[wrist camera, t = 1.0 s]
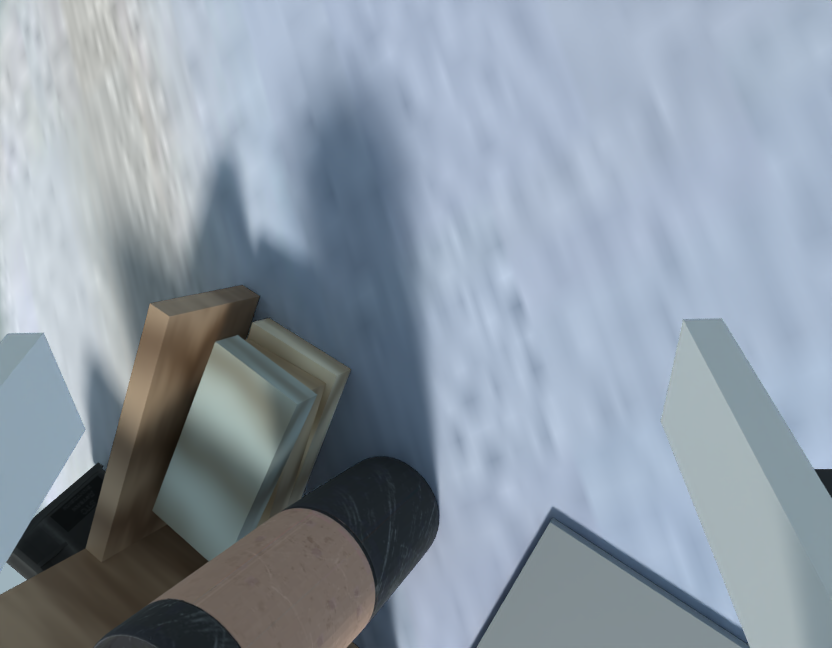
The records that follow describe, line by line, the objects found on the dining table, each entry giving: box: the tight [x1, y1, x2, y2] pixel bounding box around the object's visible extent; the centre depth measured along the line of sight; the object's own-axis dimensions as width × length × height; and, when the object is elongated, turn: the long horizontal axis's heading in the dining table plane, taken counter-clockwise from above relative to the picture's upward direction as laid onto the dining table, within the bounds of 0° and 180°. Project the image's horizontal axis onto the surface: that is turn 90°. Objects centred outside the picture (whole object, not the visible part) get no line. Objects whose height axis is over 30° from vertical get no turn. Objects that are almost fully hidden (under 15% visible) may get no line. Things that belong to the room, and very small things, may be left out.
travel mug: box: [93, 457, 439, 648], centre depth 36 cm, size 8×8×20 cm
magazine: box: [7, 463, 106, 580], centre depth 49 cm, size 17×3×30 cm
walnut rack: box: [0, 285, 359, 648], centre depth 38 cm, size 21×22×20 cm
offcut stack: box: [152, 318, 351, 561], centre depth 45 cm, size 16×8×6 cm, turn 157°
